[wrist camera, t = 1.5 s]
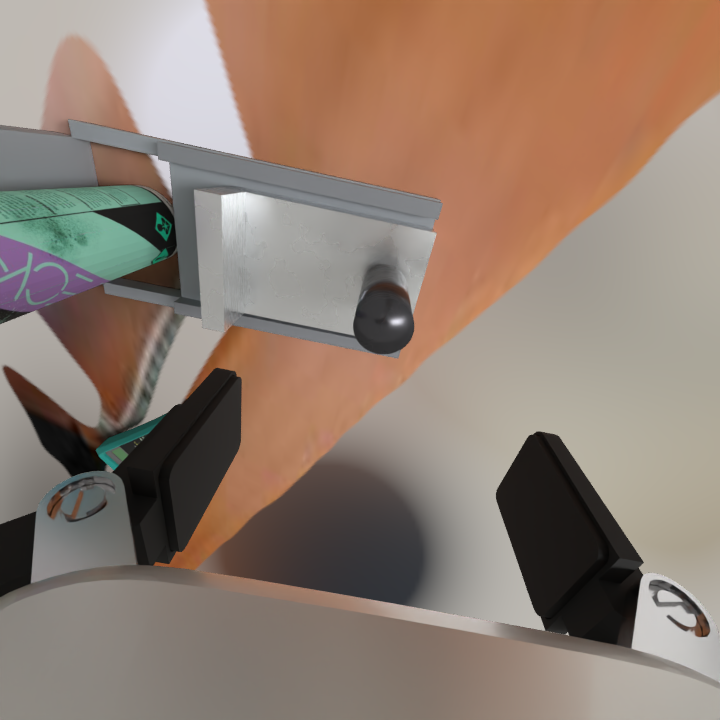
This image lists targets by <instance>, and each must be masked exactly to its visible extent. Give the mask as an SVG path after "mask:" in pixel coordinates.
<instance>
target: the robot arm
mask: <svg viewBox="0 0 720 720" xmlns="http://www.w3.org/2000/svg"><path fill="white" fill-rule="evenodd" d="M241 384H242V381H241V378H240V377H237V376H236V372H235V371H230V370H225V369H220V368H215V369H214V370H213V371H212V372H211V373H210V375H209V376H208V377H207V378H206V379H205V380H204V381H203V382H202V383H201V385H200V386H199V387H198V388H197V389H196V390H195V391H194V392H193V393H192V394H191V396H190V397H189V398H188V399H187V400H186V401H185V402H184V403H183V404H178V405H175V406H174V407H173V408H172V409H171V410H170V411H169V412H168V413H167V414H166V415H165V416H164V417H163V418H162V420H161V421H160V422H159V423H158V424H157V425H156V426H155V427H154V428H153V429H152V430H151V431H150V432H149V434H148V435H147V436H146V437H145V438H144V439H143V440H142V441H141V442H140V443H139V444H138V445H137V446H136V447H135V449H134V450H133V451H132V452H131V453H130V454H129V455H128V456H127V457H126V458H125V459H124V460H123V461H122V462H121V464H120V465H119V466H118V467H117V468H116V469H115V470H114V471H113V472H112V473H110V472H107V471H92V472H87V473H82V474H79V475H77V476H74V477H71V478H69V479H67V480H65V481H63V482H62V483H60V484H58V485H56V486H55V487H54V488H53V489H52V490H50V491H49V492H48V493H47V494H46V495H45V496H44V498H43V499H42V500H41V502H40V503H39V506H38V509H37V511H36V512H33V513H31V514H28V515H25V516H22V517H20V518H17V519H14V520H11V521H8V522H6V523H3V524H0V720H720V635H719V632H718V629H717V625H716V624H715V622H714V620H713V618H712V617H711V615H710V614H709V612H708V611H707V610H706V609H705V608H704V606H703V605H702V604H701V603H700V602H699V601H698V600H697V599H696V598H695V597H694V596H693V595H692V594H691V593H690V592H688V591H687V590H686V589H685V588H683V587H682V586H681V585H680V584H678V583H676V582H675V581H673V580H671V579H670V578H668V577H665V576H663V575H660V574H657V573H647V574H645V575H643V574H642V573H641V571H640V570H639V567H640V566H641V565H642V564H643V563H644V562H643V561H642V559H641V558H640V556H639V555H638V553H637V552H636V550H635V549H634V547H633V546H632V544H631V543H630V541H629V540H628V538H627V537H626V535H625V534H624V532H623V531H622V529H621V528H620V527H619V525H618V523H617V522H616V520H615V519H614V518H613V516H612V514H611V513H610V512H609V510H608V509H607V507H606V506H605V504H604V503H603V501H602V500H601V498H600V497H599V495H598V494H597V492H596V491H595V489H594V488H593V486H592V485H591V483H590V482H589V480H588V479H587V477H586V476H585V474H584V473H583V471H582V470H581V469H580V467H579V465H578V464H577V463H576V461H575V459H574V458H573V457H572V455H571V454H570V452H569V451H568V449H567V448H566V446H565V445H564V443H563V442H562V440H561V439H560V437H559V436H557V435H555V434H550V433H545V432H536V433H534V434H533V435H530V436H529V437H528V438H527V440H526V441H525V443H524V445H523V446H522V448H521V450H520V451H519V454H518V455H517V456H516V458H515V460H514V462H513V463H512V465H511V467H510V469H509V470H508V472H507V474H506V475H505V477H504V479H503V480H502V482H501V484H500V485H499V487H498V489H497V492H496V500H497V503H498V506H499V509H500V512H501V515H502V518H503V521H504V524H505V527H506V529H507V532H508V535H509V538H510V541H511V544H512V547H513V550H514V553H515V555H516V559H517V561H518V564H519V567H520V570H521V573H522V576H523V579H524V582H525V585H526V588H527V591H528V593H529V596H530V599H531V602H532V605H533V608H534V610H535V612H536V613H537V615H539V616H541V619H542V622H543V625H544V628H545V631H542V630H536V629H531V628H525V627H520V626H514V625H509V624H503V623H498V622H493V621H487V620H482V619H476V618H470V617H465V616H459V615H454V614H448V613H443V612H437V611H431V610H426V609H420V608H415V607H408V606H404V605H398V604H392V603H387V602H381V601H375V600H370V599H364V598H358V597H353V596H347V595H341V594H335V593H329V592H324V591H318V590H312V589H306V588H300V587H294V586H289V585H283V584H276V583H271V582H265V581H260V580H253V579H248V578H241V577H235V576H228V575H221V574H215V573H208V572H202V571H195V570H189V569H181V568H171V567H161V566H153V565H154V563H155V562H160V563H166V564H169V563H170V562H171V560H172V558H173V556H174V555H175V553H176V551H178V552H182V551H183V550H184V549H185V547H186V545H187V544H188V542H189V540H190V538H191V536H192V534H193V533H194V531H195V529H196V527H197V525H198V523H199V522H200V520H201V518H202V516H203V514H204V512H205V510H206V509H207V507H208V505H209V503H210V501H211V499H212V498H213V496H214V494H215V492H216V490H217V488H218V487H219V485H220V483H221V481H222V479H223V477H224V476H225V474H226V472H227V470H228V468H229V466H230V465H231V463H232V461H233V459H234V457H235V455H236V454H237V452H238V449H239V446H240V442H241ZM547 631H549V632H547ZM553 632H554V633H553ZM567 632H568V633H569V636H568V635H563V634H566V633H567ZM558 633H560V634H558Z"/></svg>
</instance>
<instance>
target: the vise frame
mask: <svg viewBox="0 0 720 720" xmlns="http://www.w3.org/2000/svg"><path fill="white" fill-rule="evenodd" d="M68 122H69V127H70V131H71V135H67V134H62V133H58V132H53V131H45V130H36V129H28V128H20V127H11V126H3V125H0V191H20V190H40V189H60V188H81V187H99V186H98V181H97V176H96V171H95V165H94V160H93V155H92V150H91V145H90V141H91V142H95V143H100V144H105V145H109V146H114V147H119V148H123V149H128V150H132V151H137V152H142V153H146V154H151V155H156V156H158V159H159V160H163V161H168V162H169V164H170V174H171V186H172V197H173V208H174V219H175V230H176V241H177V251H178V262H179V273H180V284H181V290H178V289H173V288H168V287H163V286H158V285H153V284H148V283H143V282H138V281H133V280H129V279H124V278H117V279H114V280H111V281H109V282H106V283H104V284H103V286H104V290H105V294H110V295H115V296H120V297H125V298H130V299H135V300H140V301H145V302H150V303H155V304H160V305H164V306H169V307H174V312H175V314H180V315H185V316H190V317H195V318H200V319H202V315H201V298H200V282H199V266H198V249H197V233H196V216H195V200H194V189H205V188H217V187H228V186H238V187H242V188H247V189H251V190H256V191H261V192H265V193H270V194H275V195H279V196H284V197H289V198H293V199H298V200H303V201H307V202H312V203H317V204H321V205H326V206H331V207H335V208H340V209H345V210H349V211H354V212H358V213H363V214H368V215H372V216H377V217H382V218H386V219H391V220H396V221H400V222H405V223H410V224H414V225H419V226H424V227H428V228H433V225H434V222H435V219H436V220H438V218H439V215H440V211H441V208H442V204H443V203H441V202H440V201H441V200H439V199H436V198H431V197H427V196H422V195H418V194H413V193H408V192H404V191H399V190H395V189H390V188H386V187H381V186H376V185H372V184H367V183H363V182H358V181H353V180H349V179H344V178H340V177H335V176H330V175H326V174H321V173H317V172H312V171H308V170H303V169H298V168H294V167H289V166H285V165H280V164H275V163H271V162H266V161H262V160H257V159H252V158H248V157H243V156H238V155H234V154H229V153H224V152H220V151H216V150H211V149H207V148H202V147H197V146H193V145H188V144H184V143H179V142H174V141H170V140H165V139H160V138H156V137H152V136H147V135H142V134H138V133H133V132H129V131H124V130H119V129H115V128H110V127H106V126H101V125H96V124H92V123H87V122H82V121H76V120H70V119H68ZM233 325H235V326H239V327H244V328H249V329H254V330H259V331H264V332H269V333H274V334H279V335H284V336H289V337H294V338H299V339H304V340H309V341H314V342H319V343H324V344H329V345H334V346H339V347H344V348H349V349H354V350H359V351H363V352H368V353H372V352H370V351H368V350H366V349H365V348H363V347H362V346H361V345H360V344H359V342H358V341H357V339H356V337H355V336H354V335H349V334H344V333H339V332H334V331H329V330H325V329H320V328H315V327H310V326H305V325H300V324H295V323H290V322H285V321H280V320H275V319H270V318H265V317H260V316H256V315H251V314H246V313H244V314H243V315H242V316H241V317H240V318H239V319H238V320H237V321H236V322H235V323H234V324H233ZM373 354H376V353H373ZM399 354H400V350H399V351H397V352H395V353H391V354H378V355H383V356H388V357H393V358H398V357H399Z"/></svg>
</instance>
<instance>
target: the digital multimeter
mask: <svg viewBox="0 0 720 720" xmlns="http://www.w3.org/2000/svg"><path fill="white" fill-rule="evenodd" d="M166 414H167V413H166ZM166 414H164V415H162V416H160V417H158V418H156V419H154V420H152V421H150V422H147V423H145V424H143V425H140V426H138V427H136V428H133V429H131V430H128V431H125V432H123V433H120V434H117V435H115V436H112V437H109V438H108V439H107V440H106V441H104V442H103V443H102V444H101V445H100V446H99V447H98V448H97V449H96V452H97V453H98V455H99V457H100V458H101V459H102V460H103V461H104V462H105V463H106V464H108V465H109V466H110V467H111V468H112V469H113V470H115V469H116V468H117V467H118V466H119V465H120V464H121V462H122V461H123V460H124V459H125V458H126V457H127V456H128V455H129V454H130V453H131V452H132V451H133V450H134V449H135V447H136V446H137V445H138V444H139V443H140V442H141V441H142V440H143V439H144V438H145V437H146V436H147V435H148V434H149V432H150V431H151V430H152V429H153V428H154V427H155V426H156V425H157V424H158V423H159V422H160V421H161V420H162V418H163V417H164V416H165V415H166Z"/></svg>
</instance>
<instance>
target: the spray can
mask: <svg viewBox="0 0 720 720" xmlns="http://www.w3.org/2000/svg"><path fill="white" fill-rule="evenodd" d="M176 252H177V241H176V230H175V219H174V208H173V206H172V205H171V203H170V202H169V201H168V200H167V199H166V198H165V197H164V196H163V195H161V194H160V193H158V192H157V191H155V190H153V189H151V188H149V187H145V186H141V185H121V186H101V187H81V188H60V189H40V190H20V191H0V324H2V323H4V322H7V321H9V320H12V319H15V318H17V317H19V316H22V315H25V314H27V313H30V312H32V311H35V310H38V309H40V308H43V307H45V306H48V305H50V304H53V303H55V302H58V301H60V300H63V299H66V298H68V297H71V296H73V295H76V294H78V293H81V292H83V291H86V290H89V289H91V288H94V287H96V286H99V285H101V284H104V283H106V282H109V281H111V280H114V279H117V278H119V277H122V276H124V275H127V274H129V273H132V272H134V271H137V270H139V269H142V268H145V267H147V266H150V265H152V264H155V263H157V262H160V261H162V260H165V259H167V258H169V257H171V256H173V255H174V254H175V253H176Z"/></svg>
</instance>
